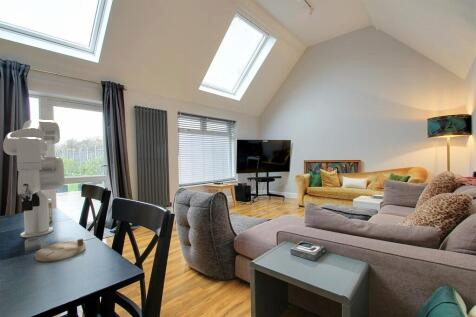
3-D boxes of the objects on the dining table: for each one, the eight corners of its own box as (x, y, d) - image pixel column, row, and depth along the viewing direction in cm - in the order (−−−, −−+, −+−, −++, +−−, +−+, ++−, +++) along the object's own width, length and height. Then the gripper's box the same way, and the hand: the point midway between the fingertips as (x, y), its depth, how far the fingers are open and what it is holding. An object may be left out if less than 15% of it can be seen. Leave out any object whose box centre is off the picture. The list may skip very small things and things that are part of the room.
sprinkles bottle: (53, 220, 141) (52, 198, 140) (51, 222, 137) (50, 199, 136) (44, 221, 139) (43, 199, 138) (41, 223, 135) (40, 200, 134)
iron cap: (23, 251, 96) (22, 239, 96) (37, 246, 100) (37, 235, 100) (28, 253, 94) (27, 241, 93) (43, 248, 98) (42, 237, 98)
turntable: (60, 243, 102) (59, 234, 102) (93, 244, 100) (93, 235, 100) (23, 260, 86) (23, 250, 86) (63, 261, 85) (62, 251, 84)
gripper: (26, 166, 102) (28, 205, 103) (8, 168, 87) (10, 214, 87) (47, 165, 105) (48, 203, 106) (33, 167, 90) (35, 212, 90)
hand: (31, 208), depth 97 cm, fingers open, 7 cm apart
